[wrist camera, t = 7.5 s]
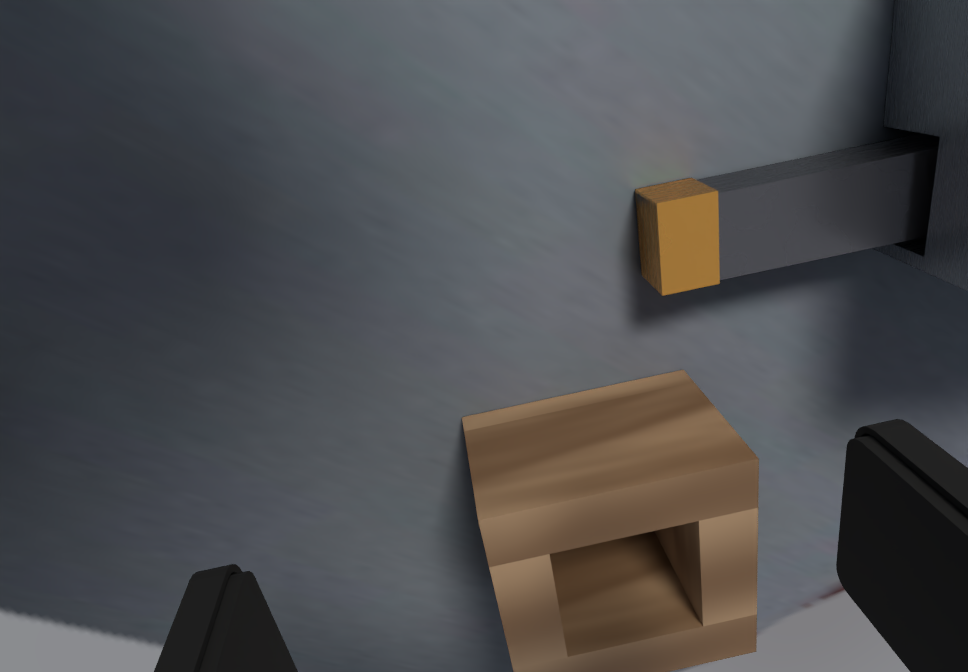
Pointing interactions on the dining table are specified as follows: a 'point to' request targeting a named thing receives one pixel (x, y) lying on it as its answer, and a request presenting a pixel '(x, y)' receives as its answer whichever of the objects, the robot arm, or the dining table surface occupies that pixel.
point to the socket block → (934, 125)
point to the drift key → (785, 213)
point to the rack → (618, 528)
